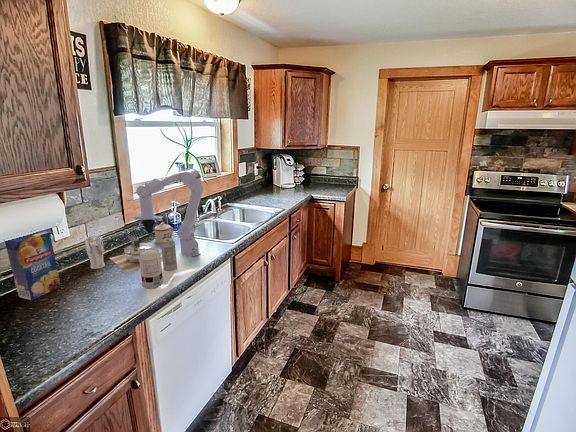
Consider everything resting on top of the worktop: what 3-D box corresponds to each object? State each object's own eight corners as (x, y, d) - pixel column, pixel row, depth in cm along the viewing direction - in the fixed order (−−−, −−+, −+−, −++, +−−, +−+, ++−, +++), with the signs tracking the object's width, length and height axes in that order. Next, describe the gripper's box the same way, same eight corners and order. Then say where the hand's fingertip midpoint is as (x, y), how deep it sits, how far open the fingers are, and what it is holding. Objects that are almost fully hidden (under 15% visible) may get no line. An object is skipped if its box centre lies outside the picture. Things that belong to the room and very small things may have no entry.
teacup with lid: (164, 246, 182) (162, 226, 179) (152, 243, 186) (149, 223, 183) (179, 239, 193) (177, 220, 189) (167, 237, 196) (165, 218, 193)
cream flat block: (159, 261, 161) (158, 252, 159) (130, 267, 153) (129, 258, 152) (149, 248, 176) (148, 240, 174) (122, 254, 168) (121, 246, 167)
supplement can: (138, 287, 138) (133, 254, 133) (152, 278, 145) (148, 247, 141) (153, 291, 135) (149, 257, 131) (167, 282, 142) (164, 249, 138)
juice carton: (31, 300, 127) (17, 242, 121) (18, 297, 130) (4, 239, 123) (61, 286, 138) (49, 232, 131) (48, 283, 140) (36, 230, 134)
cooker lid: (158, 250, 162) (157, 244, 161) (128, 257, 153) (127, 250, 152) (146, 239, 176) (146, 233, 175) (118, 245, 168) (118, 239, 167)
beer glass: (86, 269, 153) (80, 239, 149) (99, 264, 159) (94, 234, 155) (96, 272, 151) (91, 241, 147) (109, 266, 157) (105, 236, 153)
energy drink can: (176, 266, 157) (173, 236, 153) (178, 271, 152) (175, 241, 148) (163, 268, 155) (160, 238, 151) (164, 273, 150) (160, 243, 146)
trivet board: (172, 260, 164) (172, 258, 164) (126, 274, 149) (126, 272, 149) (152, 248, 179) (152, 246, 179) (109, 260, 164) (109, 258, 164)
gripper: (129, 209, 165) (132, 235, 169) (156, 210, 163) (159, 236, 167) (137, 205, 171) (140, 230, 175) (163, 207, 170) (165, 232, 173)
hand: (149, 233), depth 171 cm, fingers closed
